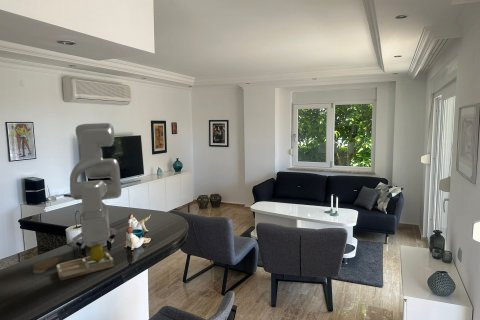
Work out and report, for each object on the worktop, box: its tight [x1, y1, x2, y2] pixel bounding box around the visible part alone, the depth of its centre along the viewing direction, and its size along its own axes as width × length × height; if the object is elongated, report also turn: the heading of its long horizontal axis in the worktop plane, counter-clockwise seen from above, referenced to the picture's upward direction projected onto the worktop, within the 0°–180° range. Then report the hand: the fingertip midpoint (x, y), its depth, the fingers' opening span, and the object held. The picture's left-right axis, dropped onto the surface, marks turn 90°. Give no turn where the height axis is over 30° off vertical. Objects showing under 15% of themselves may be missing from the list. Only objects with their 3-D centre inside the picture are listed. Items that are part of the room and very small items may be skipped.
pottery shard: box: [32, 256, 63, 274], centre depth 145 cm, size 8×3×15 cm
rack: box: [55, 251, 115, 281], centre depth 140 cm, size 10×20×3 cm, turn 125°
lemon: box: [89, 244, 105, 262], centre depth 142 cm, size 6×6×8 cm
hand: (96, 253), depth 142 cm, fingers open, 9 cm apart
